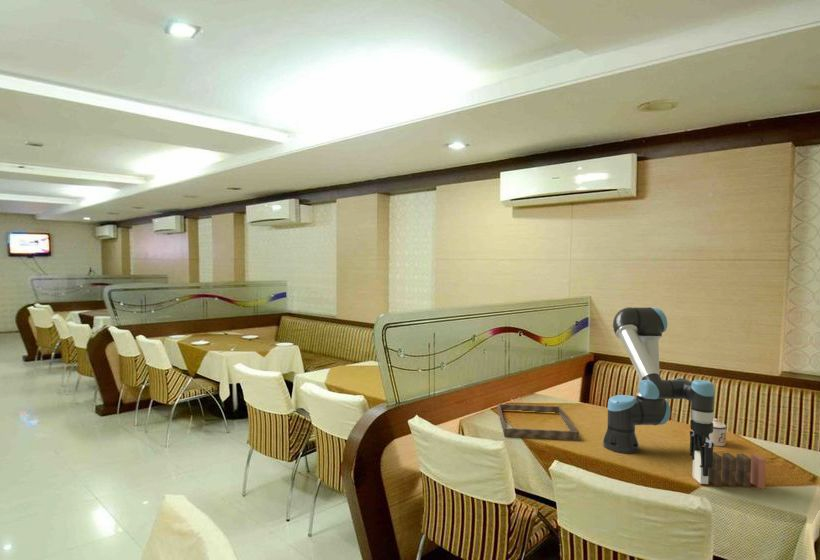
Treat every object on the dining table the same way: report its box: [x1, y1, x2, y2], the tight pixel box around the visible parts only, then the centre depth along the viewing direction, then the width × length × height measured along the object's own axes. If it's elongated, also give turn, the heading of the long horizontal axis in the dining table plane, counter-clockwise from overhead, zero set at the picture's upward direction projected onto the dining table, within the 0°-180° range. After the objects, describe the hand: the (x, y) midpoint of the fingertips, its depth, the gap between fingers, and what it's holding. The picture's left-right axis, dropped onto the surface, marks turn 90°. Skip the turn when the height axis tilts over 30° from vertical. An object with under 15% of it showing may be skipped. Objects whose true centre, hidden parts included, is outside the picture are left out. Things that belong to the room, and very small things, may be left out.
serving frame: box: [497, 403, 579, 441], centre depth 249 cm, size 35×42×4 cm
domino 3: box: [721, 452, 737, 488], centre depth 182 cm, size 2×5×11 cm, turn 174°
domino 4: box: [736, 453, 751, 488], centre depth 181 cm, size 2×5×11 cm, turn 174°
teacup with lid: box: [709, 417, 727, 447], centre depth 226 cm, size 12×9×12 cm
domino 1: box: [693, 451, 702, 484], centre depth 183 cm, size 2×5×11 cm, turn 174°
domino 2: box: [708, 451, 722, 487], centre depth 182 cm, size 2×5×11 cm, turn 174°
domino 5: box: [750, 453, 767, 489], centre depth 181 cm, size 2×5×11 cm, turn 174°
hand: (700, 480), depth 183 cm, fingers closed on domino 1, 5 cm apart
